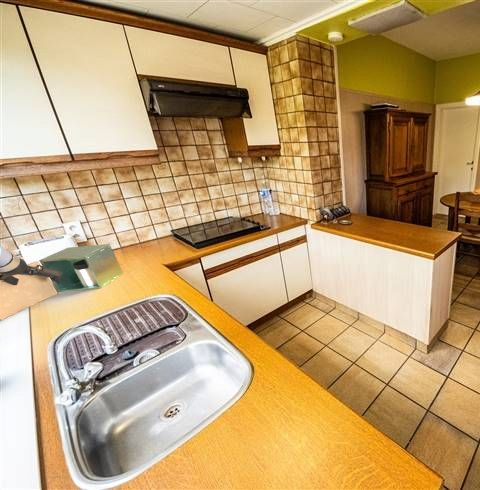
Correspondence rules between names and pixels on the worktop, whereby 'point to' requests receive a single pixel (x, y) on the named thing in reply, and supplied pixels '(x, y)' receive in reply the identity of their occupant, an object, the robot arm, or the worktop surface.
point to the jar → (84, 273)
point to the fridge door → (24, 293)
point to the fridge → (96, 259)
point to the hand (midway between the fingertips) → (39, 281)
